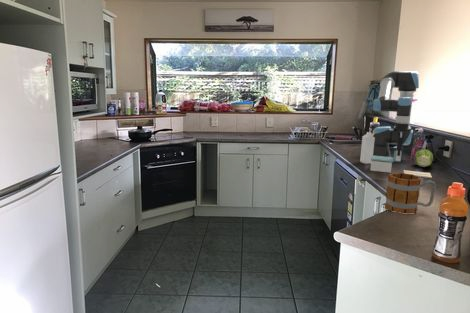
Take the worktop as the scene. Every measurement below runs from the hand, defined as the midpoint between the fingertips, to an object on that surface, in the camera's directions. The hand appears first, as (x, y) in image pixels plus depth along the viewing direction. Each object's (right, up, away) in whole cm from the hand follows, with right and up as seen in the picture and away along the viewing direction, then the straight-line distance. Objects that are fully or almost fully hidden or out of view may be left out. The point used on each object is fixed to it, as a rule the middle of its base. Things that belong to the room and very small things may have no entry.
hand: (397, 159), depth 218 cm
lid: (-6, 0, +3) cm, 7 cm away
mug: (-26, -22, -65) cm, 74 cm away
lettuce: (+26, -5, +19) cm, 33 cm away
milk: (-10, -3, +26) cm, 28 cm away
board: (+11, -9, -3) cm, 14 cm away
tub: (-9, -7, +5) cm, 12 cm away
